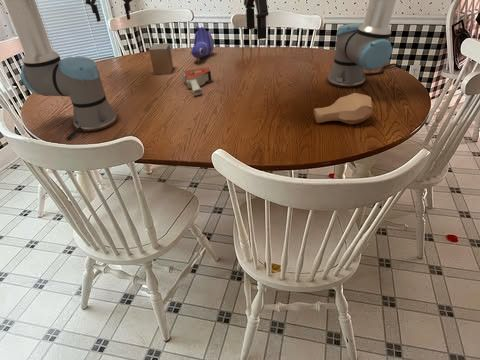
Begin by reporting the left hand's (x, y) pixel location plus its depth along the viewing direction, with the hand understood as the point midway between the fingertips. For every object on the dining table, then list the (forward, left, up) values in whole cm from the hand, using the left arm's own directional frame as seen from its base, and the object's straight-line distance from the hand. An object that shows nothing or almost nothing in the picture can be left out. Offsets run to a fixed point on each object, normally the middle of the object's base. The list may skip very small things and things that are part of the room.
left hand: (114, 20), depth 160 cm
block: (+3, -18, -25) cm, 31 cm away
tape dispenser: (-19, -36, -25) cm, 48 cm away
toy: (+21, -35, -25) cm, 48 cm away
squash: (-58, -92, -25) cm, 112 cm away
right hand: (-46, -63, +2) cm, 78 cm away
